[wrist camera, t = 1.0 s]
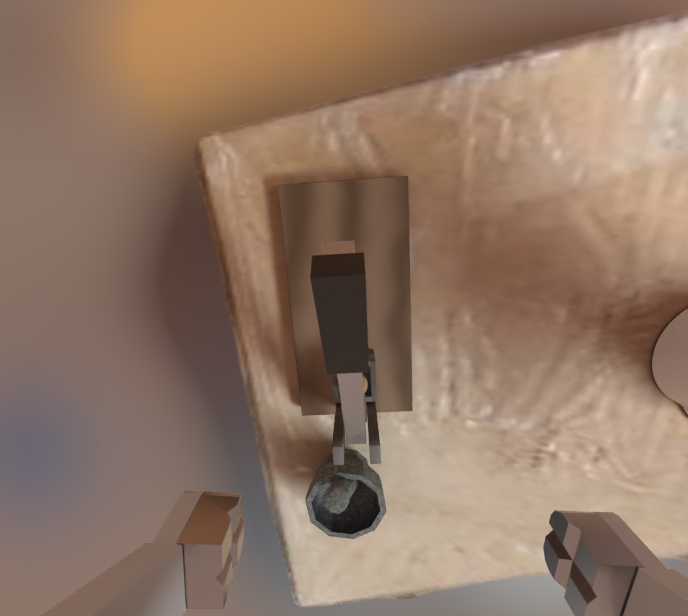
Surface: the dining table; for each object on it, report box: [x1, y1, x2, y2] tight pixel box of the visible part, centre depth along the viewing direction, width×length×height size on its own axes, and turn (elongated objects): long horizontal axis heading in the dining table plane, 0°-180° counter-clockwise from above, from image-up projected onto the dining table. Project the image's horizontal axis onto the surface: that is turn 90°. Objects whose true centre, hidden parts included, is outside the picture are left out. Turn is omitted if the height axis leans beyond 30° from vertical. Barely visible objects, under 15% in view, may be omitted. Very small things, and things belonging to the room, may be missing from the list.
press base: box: [278, 176, 412, 465], centre depth 39 cm, size 14×28×13 cm, turn 4°
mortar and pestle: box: [306, 449, 386, 539], centre depth 45 cm, size 11×9×12 cm
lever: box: [310, 240, 369, 444], centre depth 30 cm, size 3×24×4 cm, turn 4°
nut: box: [362, 374, 368, 393], centre depth 42 cm, size 3×3×3 cm
